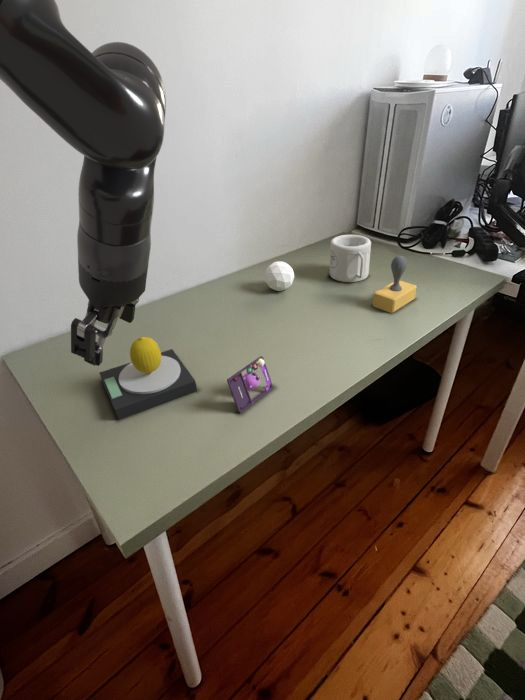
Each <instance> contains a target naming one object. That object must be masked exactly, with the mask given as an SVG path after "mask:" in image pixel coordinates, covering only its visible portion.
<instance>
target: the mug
mask: <svg viewBox="0 0 525 700" xmlns="http://www.w3.org/2000/svg"><path fill="white" fill-rule="evenodd" d="M329 247H330V249H329V250H330V251H329V252H330V253H329V276H330V277H331V278H332V279H333V280H335V281H337V282H341V283H342V282H343V283H358V282H361V281H363V280H365V279H366V278H368V277H369V273H370V263H371V262H370V261H371V250H372V241H371V240H370V238H369V237H367V236H364V235H360V234H342V235H338V236H335V237H332V239H331V240H330V245H329Z"/></svg>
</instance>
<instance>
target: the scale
mask: <svg viewBox="0 0 525 700" xmlns="http://www.w3.org/2000/svg"><path fill="white" fill-rule="evenodd" d="M99 375H100V378H101V381H102V384H103V387H104V389H105V392H106V394H107V396H108V399H109V401H110V404H111V406H112V409H113V412H114V413H115V416H116V418H117V421H118V420H123V419H124V418H127V417H131V416H132V415H135V414H138V413H141V412H143V411H146V410H148V409H152V408H154V407H157V406H159V405H162V404H165V403H168V402H170V401H173V400H176V399H179V398H182V397H184V396H187V395H190V394H192V393H195V392H198V388H197V383H196V380H195V378H194V377H193V376H192V374H191V373H190V371H189V370H188V369H187V367H186V366H185V365H184V363H183V362H182V360H181V359H180V357H179V356H178V355H177V354H176V352H175V351H174V349H173V348H171V349H168V350H167V349H166V350H164V351H161V363H160V365H159V367H158V368H157V369H156V370H155V371H153V372H152V373H142V372H140V371H138V370H137V369H136V368H135V367H134V366H133V364H132V362H131V361H130V362H128V363H125V364H122V365H118V366H116V367H112V368H109V369H105V370H103V371H100V372H99Z"/></svg>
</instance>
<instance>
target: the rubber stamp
mask: <svg viewBox="0 0 525 700" xmlns="http://www.w3.org/2000/svg"><path fill="white" fill-rule="evenodd" d="M407 264H408V263H407V259H406V258H405V257H404V256H402V255H397V256H395V257H394V258H393V259H392V261H391V262H390V269H391V270H390V271H391V273H392V277H393V281H392V282H390V283H389V284H387V285H386V286H384V287H381V288H380V289H378V290H377V291H374V293H373V300H372V301H373V302H372V306H373V308H376V309H379V310H381V311H383V312H386V313H389V314H393V313H394V312H396V311H397V310H399V309H400V308H402V307H405V306H406V305H407V304H408V303H410V302H412V301H414V300H415V299H416V295H417V288H418V287H417V285H416V284H413V283H409V282H406V281H402V280H401V278H402V277H403V275H404V273H405V272H406V269H407V267H408V265H407Z"/></svg>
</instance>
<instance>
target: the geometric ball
mask: <svg viewBox="0 0 525 700" xmlns="http://www.w3.org/2000/svg"><path fill="white" fill-rule="evenodd" d="M294 279H295V273H294V270H293V268H292V266H291V265H289V264H288V263H287V262H285V261H283V260H282V261H277V260H276V261H274V262H272V263H271V264H270V265H268V266H267V267H266V270H265V273H264V280H265V283H266V284H267V286H268V287H269V288H270V289H272V290H274V291H277V292H282V291H285V290H288V288H290V287H291V286H292V285H293V282H294Z"/></svg>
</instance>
